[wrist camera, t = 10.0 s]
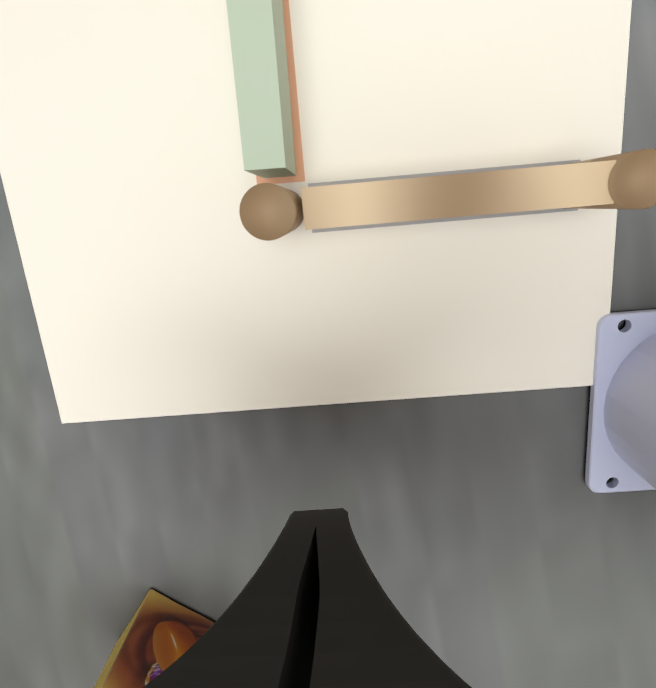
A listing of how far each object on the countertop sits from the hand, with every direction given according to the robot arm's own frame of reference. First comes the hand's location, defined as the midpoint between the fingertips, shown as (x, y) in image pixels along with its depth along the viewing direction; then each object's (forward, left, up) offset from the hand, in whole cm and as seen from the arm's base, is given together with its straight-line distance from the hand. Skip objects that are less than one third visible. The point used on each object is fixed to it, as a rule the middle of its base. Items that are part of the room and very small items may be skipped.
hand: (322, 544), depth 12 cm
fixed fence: (-4, -8, -9) cm, 13 cm away
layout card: (0, -10, -9) cm, 14 cm away
